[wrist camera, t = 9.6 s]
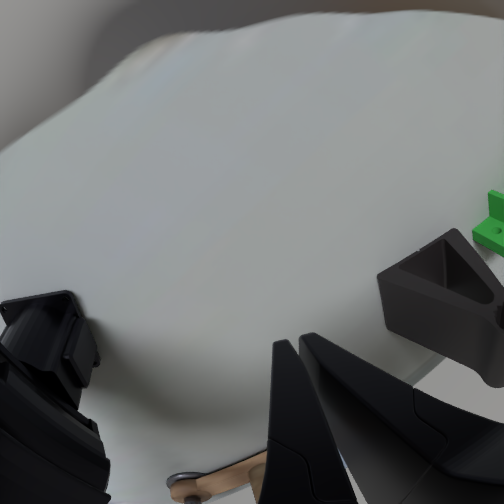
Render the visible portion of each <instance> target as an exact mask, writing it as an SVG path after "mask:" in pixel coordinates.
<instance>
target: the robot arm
mask: <svg viewBox="0 0 504 504" xmlns="http://www.w3.org/2000/svg"><path fill="white" fill-rule="evenodd" d="M64 297H67V298H68V299H69V300H66V299H64ZM4 307H5V308H6V309H7V310H6V309H5V308H4ZM0 313H1V315H2V317H3V319H4V321H5V323H6V325H7V326H6V327H5V329H4V331H3V333H2V334H1V336H0V504H108V502H109V501H110V500H111V496H110V495H109V494H107V493H105V492H106V489H107V486H108V481H109V476H110V467H111V464H110V460H109V459H108V458H106V455H105V450H104V446H103V442H102V441H101V439H100V435H99V431H98V426H97V423H95V422H94V421H93V420H91V419H88V418H86V417H85V416H83V415H82V414H81V413H79V412H78V408H79V403H80V398H81V393H82V389H83V388H87V387H88V385H89V382H90V377H91V372H92V368H94V367H98V366H99V365H100V361H101V359H100V357H99V354H98V352H97V345H96V343H95V341H94V339H93V336H92V334H91V332H90V330H89V327H88V325H87V323H86V320H85V319H84V318H83V317H81V314H80V312H79V309H78V307H77V304H76V302H75V299H74V297H73V295H72V293H71V292H70V291H67V290H62V291H57V292H51V293H46V294H40V295H35V296H29V297H24V298H18V299H12V300H7V301H3V302H1V304H0ZM94 360H95V361H94ZM338 450H339V451H338ZM339 452H340V453H339ZM340 454H341V456H342V457H343V459H344V461H345V463H346V465H347V467H348V468H349V470H350V472H351V474H352V476H353V478H354V479H355V481H356V483H357V485H358V487H359V489H360V491H361V492H362V494H363V496H364V498H365V500H366V501H367V503H368V504H504V423H499V422H496V421H493V420H490V419H487V418H484V417H482V416H479V415H476V414H473V413H470V412H468V411H465V410H462V409H460V408H457V407H455V406H452V405H450V404H447V403H445V402H443V401H440V400H438V399H436V398H434V397H432V396H430V395H428V394H426V393H424V392H422V391H420V390H418V389H416V388H414V389H413V387H412V386H411V385H409V384H407V383H405V382H403V381H401V380H399V379H398V378H396V377H394V376H392V375H390V374H388V373H386V372H385V371H383V370H381V369H379V368H377V367H375V366H374V365H372V364H370V363H368V362H366V361H364V360H363V359H361V358H359V357H357V356H355V355H354V354H352V353H350V352H348V351H346V350H345V349H343V348H341V347H339V346H338V345H336V344H334V343H332V342H331V341H329V340H327V339H325V338H323V337H322V336H320V335H318V334H316V333H314V332H311V333H308V334H304V335H301V336H300V337H299V355H298V354H297V352H296V351H295V349H294V348H293V346H292V345H291V343H290V342H289V340H287V339H284V340H279V341H275V342H273V347H272V370H271V390H270V409H269V427H268V441H267V456H266V465H265V472H264V477H263V482H262V487H261V491H260V495H259V499H258V503H257V504H358V502H357V498H356V496H355V493H354V491H353V488H352V485H351V483H350V480H349V477H348V475H347V472H346V469H345V467H344V464H343V461H342V459H341V456H340Z"/></svg>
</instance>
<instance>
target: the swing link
mask: <svg viewBox="0 0 504 504" xmlns="http://www.w3.org/2000/svg"><path fill="white" fill-rule="evenodd" d="M266 456H267V451H265V452H263V453H261V454H259V455H256V456H254V457H252V458H249V459H247V460H245V461H242V462H240V463H238V464H235V465H233V466H230V467H228V468H225V469H223V470H220V471H218V472H215V473H212V474H209V475H207V476H204V477H201V478H198V479H186V480H180V481H177V482H174V483H173V484H171V486H170V492H171V498H172V499H173V500H174V501H176V502H179V503H184V498H185V497H189V496H197V497H200V498H201V502H204V501H207V500H209V499H210V498H211V497H212V496H213V495H216V494H219V493H222V492H225V491H227V490H230V489H233V488H236V487H238V486H241V485H244V484H246V483H249V482H250V483H251V487H252V490H253V493H254V497H255V500H256V504H257V503H258V499H259V495H260V491H261V487H262V482H263V477H264V472H265V465H266Z"/></svg>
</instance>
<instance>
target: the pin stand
mask: <svg viewBox="0 0 504 504" xmlns="http://www.w3.org/2000/svg"><path fill="white" fill-rule="evenodd" d="M204 476H207V475H206V474H203V473H197V472H185V473H179V474H175V475H172V476H170V477H169V478H168V479H167V481H166V482H167V486H168V488H170V486H171V484H173V483H174V482H177V481H180V480H186V479H198V478H201V477H204ZM184 504H201V498H200V497H197V496H189V497H185V498H184Z"/></svg>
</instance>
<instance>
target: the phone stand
mask: <svg viewBox="0 0 504 504" xmlns="http://www.w3.org/2000/svg"><path fill="white" fill-rule="evenodd" d="M377 278H378V283H379V288H380V293H381V298H382V303H383V309H384V314H385V320H386V326H387V329H388V330H390V331H392V332H394V333H396V334H399V335H401V336H403V337H405V338H407V339H409V340H411V341H413V342H416V343H418V344H420V345H422V346H424V347H426V348H428V349H430V350H433V351H435V352H437V353H439V354H441V355H443V356H445V357H448V358H450V359H452V360H454V361H456V362H459V363H460V364H463V365H465V366H467V367H469V368H471V369H473V370H474V371H476V372H477V373H478V374H479V375H480V376H481V378H482V379H483V381H484V382H485V383H486V384H487V385H489V386H490V387H494V388H501V387H504V287H503V286H502V285H501V283H500V282H499V280H498V279H497V278H496V276H495V275H494V274H493V272H492V271H491V270H490V268H489V267H488V266H487V265H486V263H485V262H484V261H483V260H482V258H481V257H480V256H479V254H478V253H477V252H476V251H475V250H474V248H473V247H472V246H471V245H470V243H469V242H468V241H467V240H466V239H465V238H464V236H463V235H462V234H461V233H460V232H459V231H458V229H456V228H453V229H451V230H449V231H448V232H446V233H445V234H443V235H442V236H440V237H438V238H437V239H435V240H434V241H432V242H431V243H429V244H427V245H426V246H424V247H422V248H421V249H420V251H416V252H414V253H413V254H411V255H409V256H408V257H406V258H404V259H403V260H401V261H399V262H398V263H396V264H394V265H393V266H391V267H389V268H388V269H386V270H384V271H382V272H381V273H379V274H378V275H377Z"/></svg>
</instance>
